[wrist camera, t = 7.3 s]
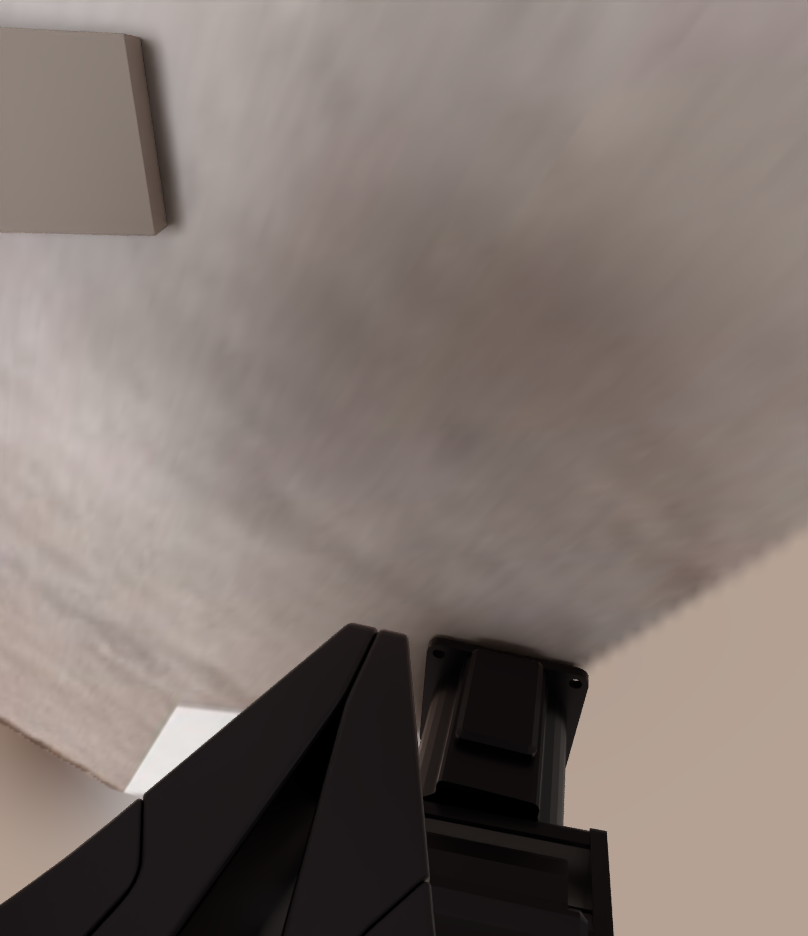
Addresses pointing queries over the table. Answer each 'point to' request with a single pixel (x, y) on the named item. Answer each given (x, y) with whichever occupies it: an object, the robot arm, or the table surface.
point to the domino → (76, 135)
